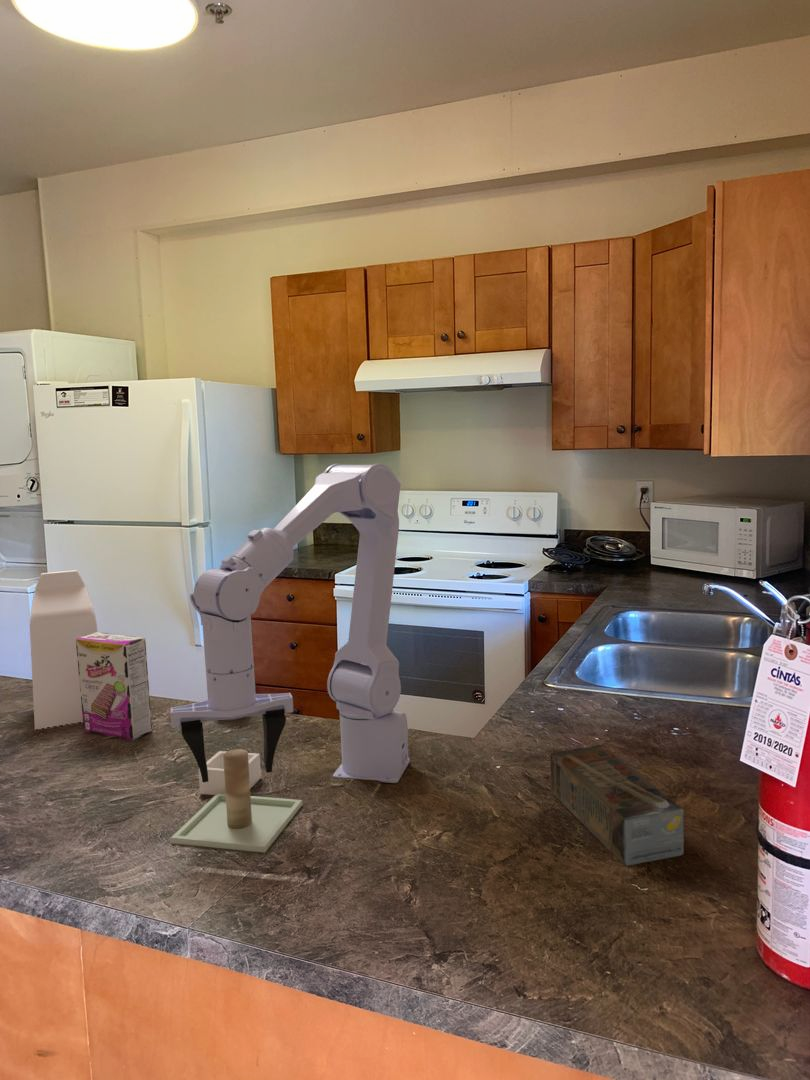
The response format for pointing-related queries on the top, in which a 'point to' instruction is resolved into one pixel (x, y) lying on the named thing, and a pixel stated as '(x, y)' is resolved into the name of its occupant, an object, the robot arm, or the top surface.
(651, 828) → the beverage carton
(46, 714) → the milk
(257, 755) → the open box
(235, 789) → the dowel
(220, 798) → the tray
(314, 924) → the top surface
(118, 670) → the candy bar box
